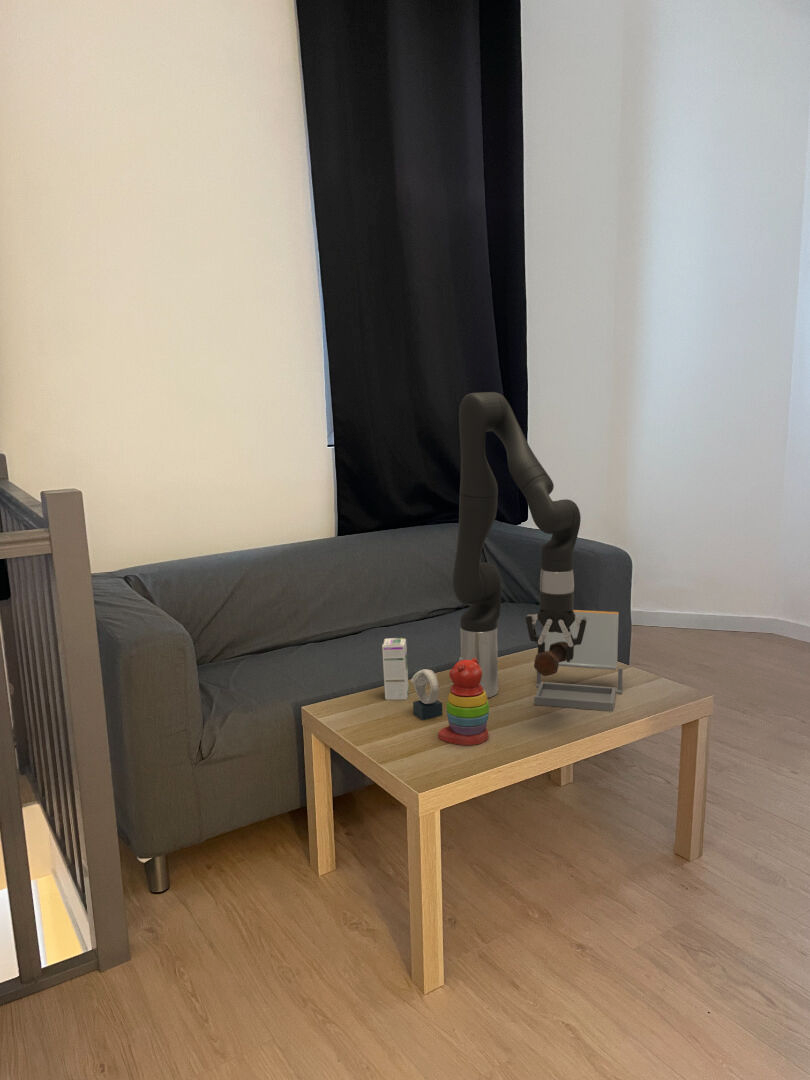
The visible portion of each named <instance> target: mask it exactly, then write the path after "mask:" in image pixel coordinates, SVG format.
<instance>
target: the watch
mask: <svg viewBox="0 0 810 1080" xmlns="http://www.w3.org/2000/svg"><path fill="white" fill-rule="evenodd" d="M410 681H411V683H412V684H413V688H414V690H415V692H416V695H417V697H418V698H419V700H416V701H413V702H412V706H413V707H412V711H413V712H412V713H413V716H415V717H417V718H419V719H420V720H421V721H424V720H425V721H426V720H429V719H433V718H437V717H441V715H442V716H443V702H442V701H440V700H438V699H439V695H440V689H439V688H440V686H439V680H438V678H437V675H436V673H435V672H434V671H433V670H432V669H426V668H425V669H420V670H419V671H417V672H415V674H414V675H413V676H412V677H411V678H410ZM428 683H429V685H430V691H429V693H428V694H429V695H428V694H427V691H426V688H427V686H428Z"/></svg>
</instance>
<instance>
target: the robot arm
mask: <svg viewBox="0 0 810 1080" xmlns="http://www.w3.org/2000/svg"><path fill="white" fill-rule="evenodd" d="M458 425H459V426H458V428H459V441H460V442H459V443H460V481H459V482H460V483H459V499H458V500H459V502H458V505H459V506H458V531H457V543H456V545H457V546H456V553H455V560H454V566H453V567H454V568H453V572H452V588H453V589H452V590H453V593H454V595H455V597H456V598H457V600H458V601H459V602H460V603H462V604H464V605H469V607H468V608H467V609H466V610H465V612H463V613H462V614H461V616H460V619H459V620H460V621H459V622H460V623H459V625H460V627H459V628H460V630H459V631H460V656H459V658H458V662H459V661H461V660H472V659H473V658H476V659H477V660H478V665H479V666H480V668H481V670H482V678H481V681H480V683H479V684H480V685H481V686H482V687H483V689H484V690H485V692H486V695H487V699H488V698H491V697H494V696H496V695H497V694H498V693H499V679H498V678H499V671H498V670H499V667H498V666H499V665H498V662H499V661H498V621H499V618H500V616H501V604H502V602H501V601H502V581H501V577H500V573H499V571H498V569H497V568H496V566H495V565H494V564H492V563H490V562H481V557H482V555H481V554H482V550H483V547H484V544H485V542H486V539H487V537H488V535H489V533H490V532H491V529H492V526H493V525H494V523H495V519H496V517H497V512H498V499H499V498H498V497H499V496H498V495H499V487H498V482H497V480H496V477H495V475H494V473H493V470H492V468H491V466H490V464H489V462H488V461H489V460H488V459H487V456H486V455H487V454H486V434H487V433H488V432H493V434H495V435H496V436H497V437H498V439H500V441H501V443H502V444H503V446H504V449H505V451H506V458H507V459H506V460H507V466H508V471H509V473H510V475H511V478H512V479H513V481H514V482H515V484H516V485H517V487H518V489H519V490H520V491H521V493H522V494H523V496H524V497H525V499H526V500H525V501H526V504H527V506H528V509H529V512H530V515H531V518H532V520H533V522H534V524H535V526H536V527H537V528H538V529H539V530H540V531H541V532H543V533H545V534H548V535H551V538H550V540H549V541H548V542H546V543H545V544H543V546H542V547H541V554H540V555H541V558H540V559H541V560H540V561H541V562H540V563H541V564H540V565H541V566H540V567H541V569H540V576H539V611H538V613H535V614H532V613H528V614H527V615H526V617H525V621H526V626H527V632H528V637H529V640H530V641H531V642H534V643H536V644H537V654H538V653H542V652H545V642H544V639H545V637H546V635H547V633H548V631H549V632H558V633H563V635H564V637H565V639H566V641H567V644H568V645H567V662H570V660H572V659H573V657H574V646H575V645H580V644H581V643H582V639H583V635H584V631H585V627H586V623H587V618H586V617H583V618H580V617H576V616H575V614H574V611H573V610H574V598H575V596H574V595H575V594H574V592H575V579H574V577H575V576H574V550H575V546H576V543H577V539H578V535H579V531H580V527H581V517H582V516H581V512H580V509H579V506H578V505H577V503H575V501H573V500H571V499H566V498H565V499H559V500H553V499H552V497H551V496H550V495H551V493H552V492H553V490H554V487H555V486H554V482H553V480H552V478H551V477H550V475H549V474H548V473H547V471H546V469H545V468H544V467H543V465H542V464H541V462H540V461H539V460H538V458H537V456H536V455H535V454H534V452H533V449H532V448H531V447H530V445H529V442H528V440H527V438H526V436H525V435H524V433H523V430H522V428H521V426H520V424H519V422H518V419H517V418H516V415H515V414H514V411H513V409H512V407H511V405H510V403H509V402H508V400H507V399H506V397H505V396H504V395H502V394H501V393H499V392H495V391H489V392H488V391H487V392H485V391H484V392H483V391H482V392H471V393H468V394H466V395H464V397H463V398H462V399H461V402H460V405H459V410H458ZM537 620H538V621H539V622H540V624H541V625H542V627H543V628H542V631H541V634H540V635H537V631H536V626H535V625H536V623H537ZM574 621H575V622H576V623H577V627H579V632H578V636H577V638H573V636H572V633H571V630H570V626H571V625H572V623H573V622H574Z"/></svg>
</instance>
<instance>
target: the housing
mask: <svg viewBox="0 0 810 1080" xmlns="http://www.w3.org/2000/svg"><path fill="white" fill-rule="evenodd" d="M617 673H618V674H617V686H615V687H614V686H603V685H590V684H589V685H588V684H575V683H565V682H564V683H561V682H560V683H559V682H550V681H542V675H541V674H540V673H539V672H538V671H537V670H536V685H535V688H537V690H536V692H535V695H534V697H533V699H534V700H533V701H534V703H533V704H534V706H545V707H546V706H547V707H558V708H569V709H571V708H572V709H579V710H580V709H581V710H593V711H603V712H604V711H605V712H614V708H615V701H616V695H622V694H623V667H617ZM616 693H618V694H616Z"/></svg>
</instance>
